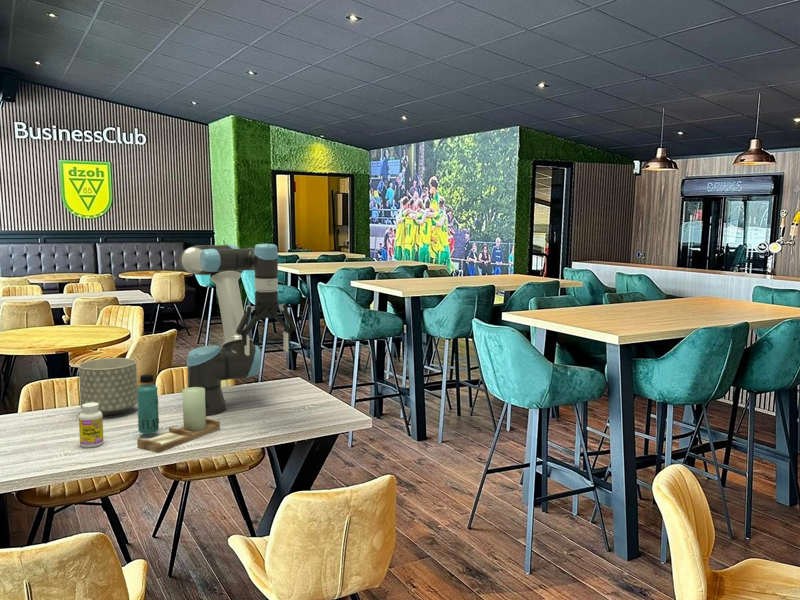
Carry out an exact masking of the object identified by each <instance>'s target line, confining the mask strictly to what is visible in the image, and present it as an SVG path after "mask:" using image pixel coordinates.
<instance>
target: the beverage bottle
mask: <svg viewBox="0 0 800 600" xmlns="http://www.w3.org/2000/svg"><path fill="white" fill-rule="evenodd" d="M154 381H155V379H154V374H151V373H149V374H148V373H147V374H146V373H145V374H141V375H140V377H139V382H140V383H141V384H142V385H140V386H138V387H137V396H138V402H137V410H138V411H137V426H138V427H137V428H138V432H139V433H140V434H142V435H143V434H145V435H147V434H154V433H157V432H158V431H159V429H160V427H159V426H160V417H159V414H160V413H159V409H160V408H159V398H158V397H159V395H158V387H157V386H156V385H155V384H153V382H154Z"/></svg>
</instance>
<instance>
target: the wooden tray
mask: <svg viewBox="0 0 800 600" xmlns="http://www.w3.org/2000/svg"><path fill="white" fill-rule="evenodd" d="M220 424H221V423H220V420H215V419H211V418H206V428H205V429H204V430H201V431H194V432H191V431H187V430H184V426H180V427H178V428H177V427H173V426H170V427H168V432H164V433H162V434H159V435H156V436H153V437H151V438H147V439H145V438H141V437H140V438H137V441H136V442H137V448H138V449H141V450H146V451H150V452H154V453H161V452H164V451H166V450H169V449H171V448H174V447H177V446H180V445H182V444H184V443H187V442H191V441H193V440H195V439H197V438H200V437H203V436H206V435H209V434H210V433H213V432H216V431H218V430H220V429H221V427H220V426H221V425H220Z"/></svg>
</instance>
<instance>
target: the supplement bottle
mask: <svg viewBox="0 0 800 600" xmlns="http://www.w3.org/2000/svg"><path fill="white" fill-rule="evenodd" d="M98 408H99V404H98V403H94V402H92V403H85V404H83V405H82V409H81V410H82V412H81V413H80V414H79V416H78V427H79V429H78V430H79V431H78V432H79V445H80V446H81V447H83V448H97V447H99V446H101V445H103V443H104V420H103V419H104V415H102V412H101V411H98Z"/></svg>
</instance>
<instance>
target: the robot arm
mask: <svg viewBox="0 0 800 600" xmlns="http://www.w3.org/2000/svg"><path fill="white" fill-rule="evenodd" d="M278 253H279V251H278V246H277V245H276V244H274V243H259V244H255V246H254V247H248V248H239V247H238V246H236V245H235V244H234V245H233V244H210V245H208V244H207V245H206V244H203V245H201V244H200V245H199V244H198V245H194V246H190V247H187V248H185V249H184V250H183V251H182V252H181V254H180V256H179V264H180V266H181V268H182V269H183V271H185V272H186V273H188V274H191V275H196V276H210V280H211V282H213V283H214V284H215V287H216V293H217V294H216V295H217V300H218V305H219V310H220V311H219V312H220V316H221V317H220V318H221V323H222V329H223V335H224V342H223V343H222V344H221V345H222V346H221V347H222V348H221V347H220V346H219V345H218V344H217V345H215V344H213V345H204V346H199V347H195V348H193V349H191V350H190V351H189V352H188V353H187V358H186V366H187V368H186V370H187V388H190V387H202V388H205V409H206V416H211V415H212V416H213V415H217V414H220V413H222V412H223V413H224V412H225V411H226V410H227V401H226V400H225V397H224V394H223V390H222V381H227V380H228V381H229V380H237V379H247V378H252V377H255V376H257V375H258V373H259V371H260V369H261V364H262V352H261V351H262V350H261V348H260V346H259V345H256V344H254V340H253V339H252V338H250V335H249V333H250V332H251V331H252V329H253V328H254V326H256V324H257V323H258V321H260V320H261V319H262V320H263V319H264V320H266V319H273V318H274V319H275V320H276V322H278V324H279V325H280V327H282V328H283V329H284V330H285V331H283V332H282V333H283V338H282V339H283V351H284V352H285V353H286V352H287V353H288V352H289V342H291V341H292V339H291V338H292V332H293V331H296V330H297V326H296V325H295V323H294V320H293V318H292V317H291V314H290V313H289V310H288V304H286V303H285V302H284V303H281V304H279V292H278V288H279V287H278V286H279V282H278V281H279V280H278V279H279V277H278V275H279V271H278V270H279V268H278V267H279V266H278V265H279V264H278V263H279V262H278V261H279V254H278ZM245 271H247V272H248V271H254V290H255V291H254V306H251V305H245V307H243V301H242V296H241V289H240V285H239V284H240V283H239V280H240V278H241V277H242V274H243V272H245ZM279 310H280V311H282V314H283V315H284V318H285V320H286V322H287V323H286V322H285V321H284V319H282V317H281V316H280V315H279V314H278V313H277V312H279ZM253 311H255V314H253V317H251V313H253ZM250 317H251V319H250V321H249V318H250ZM248 321H249V322H248Z"/></svg>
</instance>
